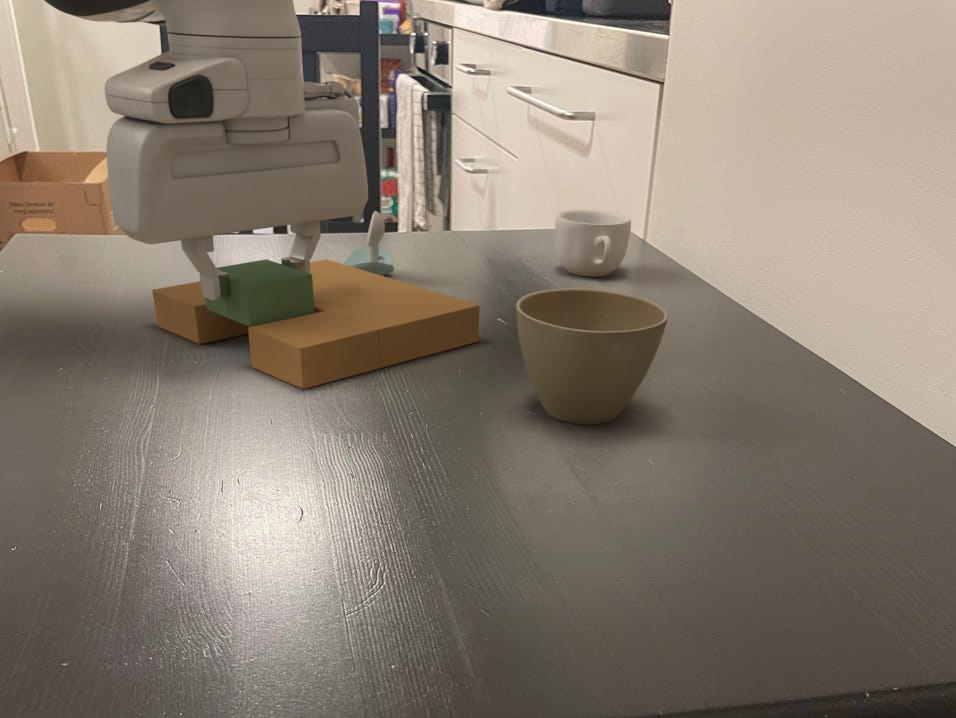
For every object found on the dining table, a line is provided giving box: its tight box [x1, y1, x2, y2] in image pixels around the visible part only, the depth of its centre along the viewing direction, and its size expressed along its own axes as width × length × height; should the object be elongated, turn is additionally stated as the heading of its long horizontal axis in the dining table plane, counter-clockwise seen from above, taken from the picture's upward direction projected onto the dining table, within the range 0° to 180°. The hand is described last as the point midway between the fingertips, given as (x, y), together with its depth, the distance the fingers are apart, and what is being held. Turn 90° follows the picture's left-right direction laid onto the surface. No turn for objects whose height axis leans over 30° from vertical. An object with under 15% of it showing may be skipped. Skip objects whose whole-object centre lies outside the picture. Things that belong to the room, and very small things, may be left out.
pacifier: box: [344, 210, 395, 276], centre depth 95 cm, size 7×6×6 cm
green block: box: [205, 258, 314, 327], centre depth 75 cm, size 6×6×3 cm
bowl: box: [515, 287, 669, 425], centre depth 65 cm, size 10×10×7 cm
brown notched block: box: [152, 259, 481, 390], centre depth 80 cm, size 20×18×3 cm
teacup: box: [554, 209, 632, 277], centre depth 100 cm, size 10×8×5 cm
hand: (258, 289), depth 75 cm, fingers closed on green block, 6 cm apart
